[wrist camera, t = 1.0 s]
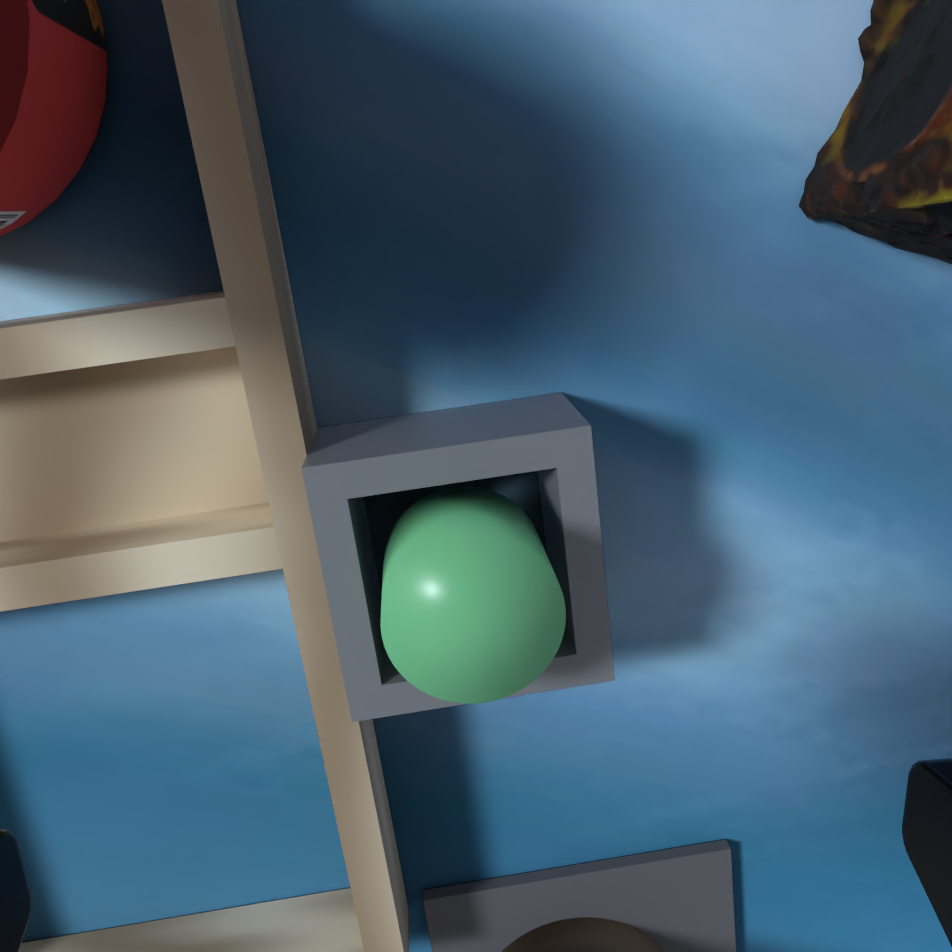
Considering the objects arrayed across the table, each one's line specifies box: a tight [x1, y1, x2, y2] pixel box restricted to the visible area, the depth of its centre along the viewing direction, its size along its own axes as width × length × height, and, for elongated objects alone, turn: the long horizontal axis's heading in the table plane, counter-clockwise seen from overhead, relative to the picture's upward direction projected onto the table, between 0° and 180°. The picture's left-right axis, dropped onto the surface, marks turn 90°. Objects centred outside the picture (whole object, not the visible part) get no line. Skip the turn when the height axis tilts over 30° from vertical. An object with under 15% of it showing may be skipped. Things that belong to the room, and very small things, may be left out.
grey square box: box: [302, 392, 615, 722], centre depth 20 cm, size 6×6×4 cm
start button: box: [380, 486, 566, 703], centre depth 18 cm, size 4×4×3 cm
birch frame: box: [0, 0, 409, 952], centre depth 19 cm, size 13×30×2 cm, turn 7°
